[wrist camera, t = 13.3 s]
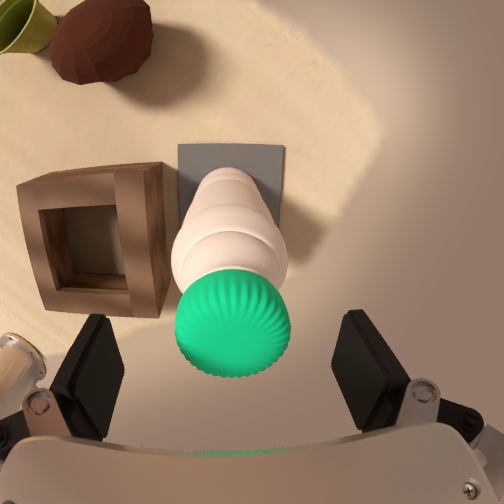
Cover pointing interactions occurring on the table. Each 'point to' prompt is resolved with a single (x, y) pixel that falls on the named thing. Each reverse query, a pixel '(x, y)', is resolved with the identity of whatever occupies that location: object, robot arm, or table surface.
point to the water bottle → (230, 279)
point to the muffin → (102, 40)
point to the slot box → (130, 230)
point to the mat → (235, 156)
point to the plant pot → (25, 26)
